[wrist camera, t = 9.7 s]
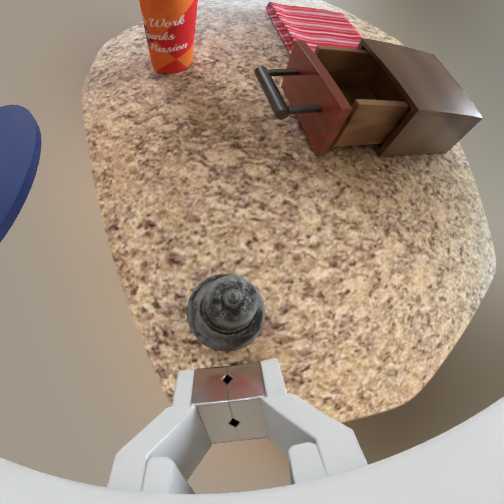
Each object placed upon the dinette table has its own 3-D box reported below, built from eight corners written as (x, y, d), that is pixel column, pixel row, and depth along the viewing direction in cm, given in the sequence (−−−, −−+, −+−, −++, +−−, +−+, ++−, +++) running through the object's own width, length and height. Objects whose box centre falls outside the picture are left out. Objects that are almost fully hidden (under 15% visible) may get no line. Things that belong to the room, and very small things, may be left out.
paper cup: (134, 72, 32) (120, -12, 19) (165, 45, 35) (161, -32, 22) (181, 84, 32) (178, -10, 19) (210, 55, 35) (216, -28, 22)
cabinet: (378, 157, 33) (418, 109, 24) (337, 87, 36) (361, 37, 27) (446, 153, 36) (483, 118, 27) (407, 92, 39) (434, 54, 30)
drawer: (273, 162, 29) (291, 111, 22) (243, 89, 32) (252, 39, 25) (403, 148, 33) (435, 112, 26) (365, 87, 36) (386, 49, 28)
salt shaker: (184, 290, 25) (161, 248, 14) (249, 276, 26) (277, 226, 15) (198, 356, 24) (186, 370, 12) (265, 341, 25) (308, 340, 14)
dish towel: (299, 79, 35) (304, 65, 33) (262, 9, 41) (264, -2, 39) (395, 90, 38) (402, 79, 36) (341, 19, 44) (345, 9, 42)
